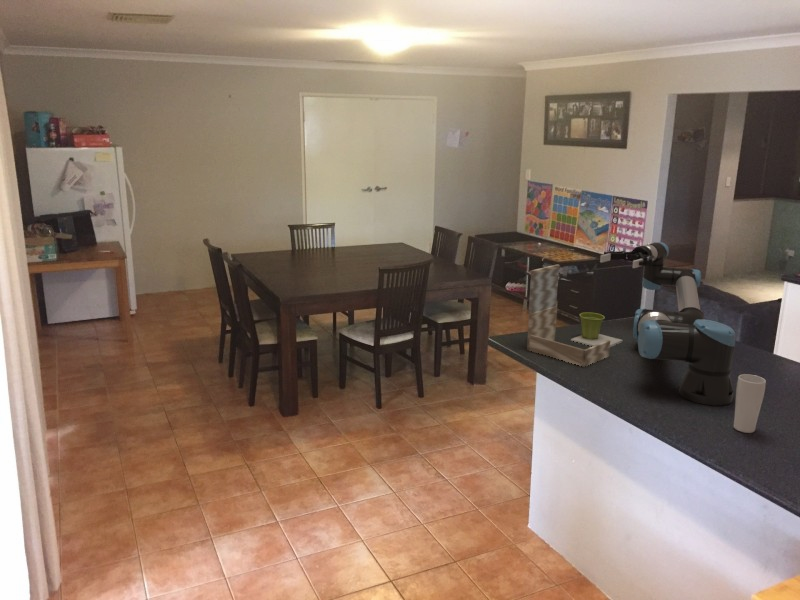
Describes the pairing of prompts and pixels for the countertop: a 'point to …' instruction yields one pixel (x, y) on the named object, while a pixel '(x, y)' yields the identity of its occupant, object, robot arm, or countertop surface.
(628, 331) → the countertop surface
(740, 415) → the drinking glass
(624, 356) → the countertop surface
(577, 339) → the stone pad
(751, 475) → the countertop surface
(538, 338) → the zigzag patterned stand
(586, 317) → the plant pot
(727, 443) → the countertop surface
